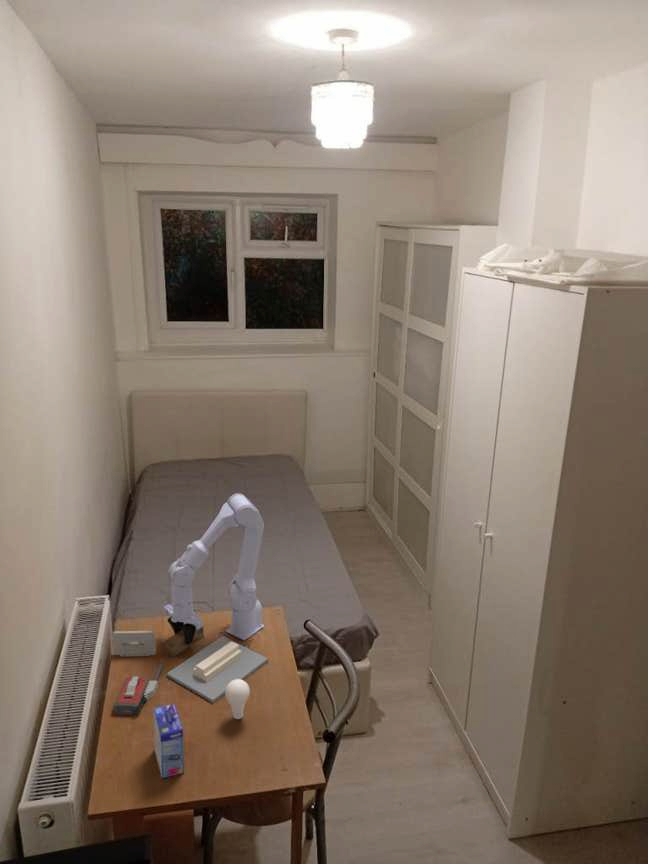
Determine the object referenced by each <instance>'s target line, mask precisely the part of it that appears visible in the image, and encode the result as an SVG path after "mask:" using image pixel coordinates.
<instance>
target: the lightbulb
mask: <svg viewBox="0 0 648 864" xmlns="http://www.w3.org/2000/svg"><path fill="white" fill-rule="evenodd" d="M250 692H251V691H250V686H249V684H248V683H247V682H246V681H245V680H241V679H235V680H233V681H231V682H230V683H229V684H228V685H227V687H226V690H225V695H224V696H225V698H226V701H227V702H228V703H229V704H230V707H231V711H232V717H233V718H234V719H235V720H239V719H242V718H243V717H244V710H245V704H246V702H247V701H248V699H249V696H250V694H251V693H250Z"/></svg>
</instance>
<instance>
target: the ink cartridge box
mask: <svg viewBox="0 0 648 864" xmlns="http://www.w3.org/2000/svg"><path fill="white" fill-rule="evenodd" d="M152 711H153V715H152V716H153V741H154V753H155V757H156V760H157V765H158V770H159V773H160V777H161V779H164V778H168V777H173V776H178V775H181V774H185V759H184V758H185V756H184V755H185V754H184V729H183V725H182V722H181V719H180V716H179V712H178V709H177V707H176V703H169V704H165V705H160V706H157V707H153V709H152Z"/></svg>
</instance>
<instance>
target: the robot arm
mask: <svg viewBox="0 0 648 864" xmlns="http://www.w3.org/2000/svg"><path fill="white" fill-rule="evenodd" d="M239 524H240V525H242V526H244V527H245V530H244V535H243V541H242V547H241V552H240V558H239V563H238V569H237V574H235V575H234V576H233V579H232V581H231V583H230V584H229V586H228V593H229V595H230V596H231V597H232V600H231V603H230V604H231V605H230V611H231V612H230V613H231V614H230V615H231V626H229V627H228V628H227V629H225V632H226V633H229V634H230V635H232V636H234V637H236V638H238V639H241V640H242V641H246V640H248V638H250V637H252V636H253V635H255V634H256V633H257V632H259V631H261V630H262V629H264V627H265V625H264V623H263V606H262V604H261V602H260V601H259V599H258V597H257V594H256V593H257V586H256V582H255V581H256V580H255V577H256V571H257V567H258V562H259V556H260V552H261V551H260V550H261V544H262V540H263V535H264V529H265V523H264V520H263V518H262V516H261V514H260V510H258V509H257V507H256V506H255V505H254V503H252V501H251V500H250V499H249V498H247V497H246V496H245V495H244V494H242V493H234V494H232V495H231V496H230V497H229V498H228V499H227V500H226V502H225V503H224V504H223V505H222V506H221V509H220V511H219V513H218V515H216V517H215V519H214V520H213V522H211V524H210V526H209V527H208V528H207V530H206V531H205V533H203V535H202V537H201V538H200V539H199V540H198V539H197V540H194V541H193V542H192V543H191V544H190V543H189V544H188V545H187V546H186V551H184V553H182V555H181V557H179V558H177V559H176V561H174V562H172V564H170V566H169V569H168V570H167V572H168V574H169V575H170V578H171V599H172V600H171V601H172V602H171V603H172V604H167V605H165V606H164V607H163V610H164V611H163V612H164V613H165V614H169V615H170V617H168V619H167V622H168V624H169V625H170V627H171V628H172V629H171V630H172V631H173V633H174V635H175V634H176V633H178V632H180V631H181V630H183V633H184V636H185V642H186V644H187V645H189V644H190V643H192V642H193V638H194V634H195V631H196V629H200V628H201V627H203V628H204V620H202V619H201V618H200V617H199V616H198V615H197V614H196V613H195V611H194V609H193V589H192V588H193V587H192V582H193V580H194V578H195V577H194V576H195V575H194V574H195V573H196V571H197V569H198V568H199V567H200V566H201V565H202V564H203V562H204V561H205V560H206V559H207V557H208V556H209V554H210V547H212V545H213V544H214V543H215V542H216V541H217V539H219V537H220V536H221V535H223V533H224V532H225V531H226V530H227V529H228V528H237V527H239Z"/></svg>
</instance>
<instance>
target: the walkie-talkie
mask: <svg viewBox="0 0 648 864" xmlns="http://www.w3.org/2000/svg"><path fill="white" fill-rule="evenodd" d="M163 667H164V665H163V663H161V664H159V666H158V668H157V670H156V673H155V675H154V678H153V679H152V680H150V678H148V677H144V676H143V677H141V676H130V677H127V678H126V679H125V680H124V682H123V684H122V686H121V688H120V690H119V693H118V694H117V697H116V699H115V702H114V703H113V712H114V714H115V713H117V714H116V715H127V714H129V716H130V715H131V716H139V714H140V713H141V709H142V707H143V705H144V703H145V702H147V701H148V700H151V698H153V697H154V696H155V694H156V691H157V689H158V687H159V684H158V683H159V682H158V680H159V677H160V675H161V672H162V669H163Z"/></svg>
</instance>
